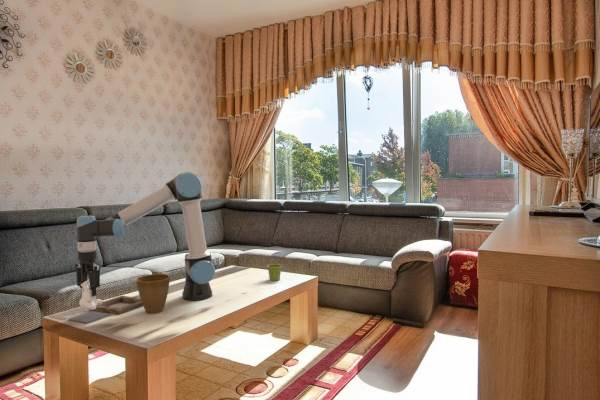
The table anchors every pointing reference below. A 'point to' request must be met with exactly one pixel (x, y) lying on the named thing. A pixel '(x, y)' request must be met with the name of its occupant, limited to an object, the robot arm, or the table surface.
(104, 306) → the pocket frame
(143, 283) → the plant pot
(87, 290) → the white creature statuette
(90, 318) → the slate mat
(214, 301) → the table surface
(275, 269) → the plant pot
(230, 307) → the table surface
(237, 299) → the table surface
